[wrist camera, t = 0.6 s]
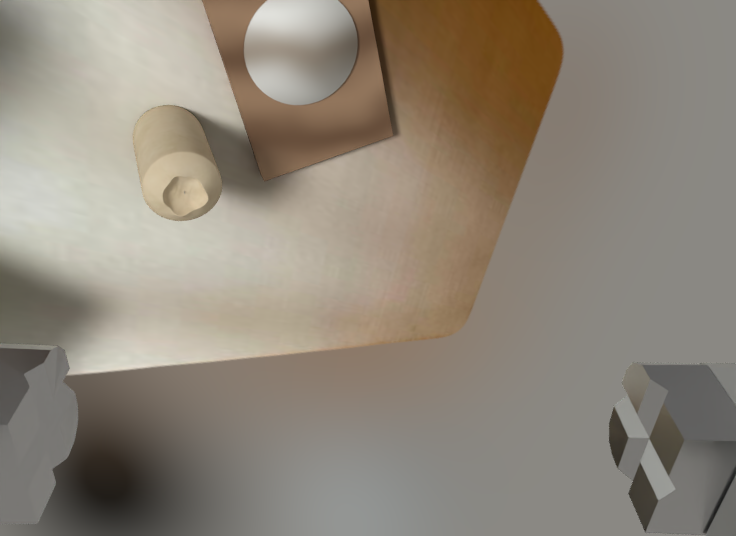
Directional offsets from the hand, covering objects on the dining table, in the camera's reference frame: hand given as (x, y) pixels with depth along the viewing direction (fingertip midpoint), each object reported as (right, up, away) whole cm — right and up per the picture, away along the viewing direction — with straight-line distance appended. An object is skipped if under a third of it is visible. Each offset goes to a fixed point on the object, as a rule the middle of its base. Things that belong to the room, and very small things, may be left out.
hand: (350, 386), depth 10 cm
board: (-5, +19, +44) cm, 48 cm away
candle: (-16, +12, +45) cm, 49 cm away
